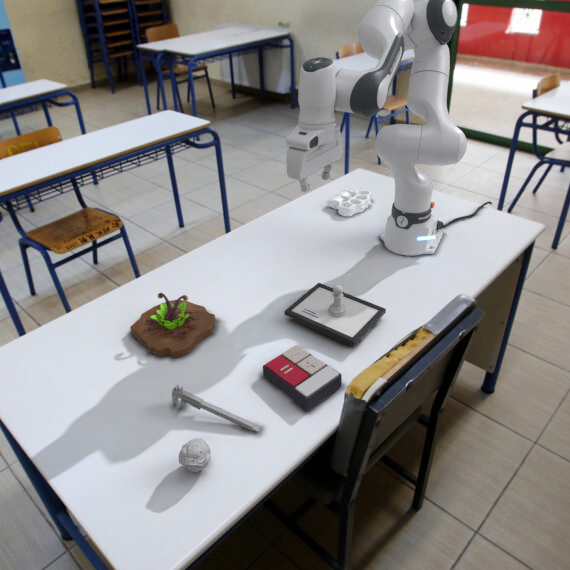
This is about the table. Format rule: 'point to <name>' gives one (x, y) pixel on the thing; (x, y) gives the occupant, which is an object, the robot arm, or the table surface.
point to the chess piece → (337, 303)
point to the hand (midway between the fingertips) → (315, 184)
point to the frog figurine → (195, 455)
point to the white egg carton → (350, 202)
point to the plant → (173, 327)
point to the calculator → (302, 377)
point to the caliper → (209, 408)
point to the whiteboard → (343, 328)
